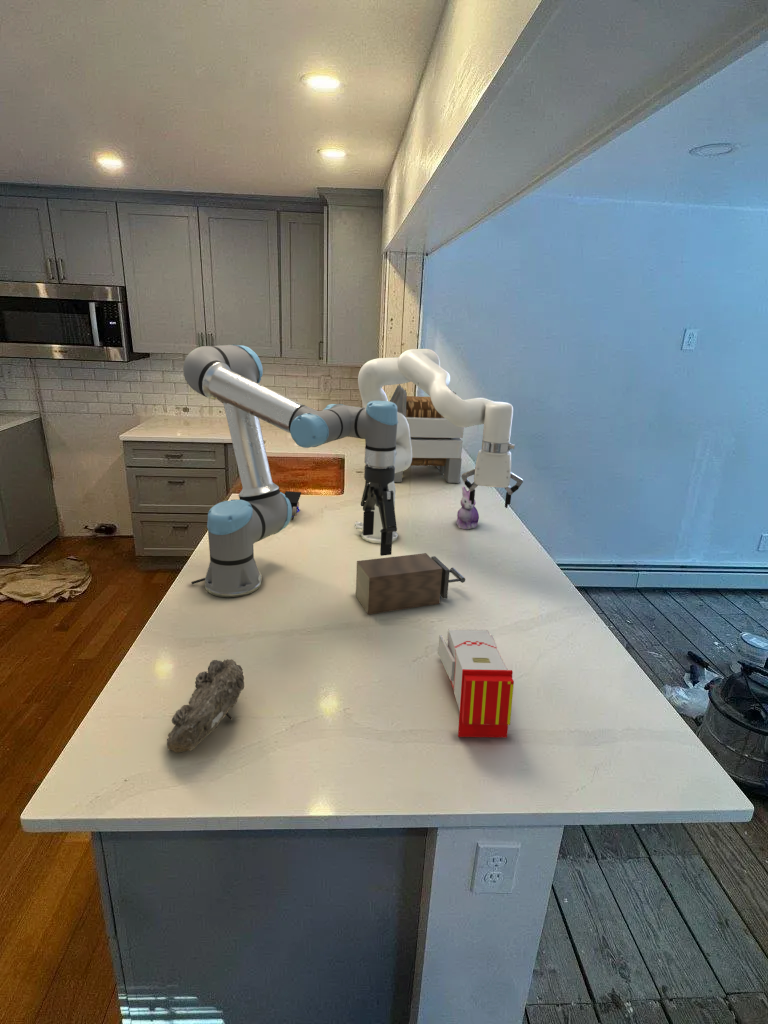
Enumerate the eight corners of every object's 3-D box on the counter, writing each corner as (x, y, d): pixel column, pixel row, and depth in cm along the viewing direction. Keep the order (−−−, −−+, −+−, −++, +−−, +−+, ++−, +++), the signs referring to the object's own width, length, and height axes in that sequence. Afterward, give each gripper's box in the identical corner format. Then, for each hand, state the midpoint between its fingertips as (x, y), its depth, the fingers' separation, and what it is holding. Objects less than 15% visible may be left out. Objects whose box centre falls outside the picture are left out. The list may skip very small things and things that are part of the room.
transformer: (382, 463, 289) (386, 382, 275) (445, 464, 293) (451, 384, 279) (390, 482, 257) (394, 392, 243) (460, 483, 261) (468, 394, 247)
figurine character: (297, 525, 206) (302, 507, 220) (296, 507, 203) (301, 489, 216) (278, 525, 206) (284, 507, 220) (278, 506, 203) (284, 489, 216)
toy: (488, 613, 130) (523, 677, 101) (484, 667, 133) (517, 744, 104) (435, 612, 130) (455, 676, 101) (432, 666, 133) (451, 743, 103)
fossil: (192, 660, 117) (244, 628, 112) (224, 691, 120) (276, 661, 115) (142, 746, 98) (202, 712, 93) (182, 779, 101) (242, 748, 96)
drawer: (451, 580, 165) (453, 553, 162) (466, 595, 157) (469, 567, 154) (369, 591, 156) (370, 563, 153) (381, 607, 148) (382, 578, 145)
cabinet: (423, 586, 163) (426, 553, 159) (439, 603, 154) (442, 568, 150) (355, 595, 156) (356, 560, 152) (367, 614, 147) (369, 577, 143)
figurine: (464, 531, 204) (468, 492, 199) (448, 522, 212) (452, 484, 207) (485, 528, 208) (490, 489, 203) (469, 519, 217) (473, 481, 212)
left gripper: (413, 478, 130) (408, 562, 137) (377, 452, 152) (374, 525, 159) (383, 480, 128) (379, 565, 135) (350, 453, 150) (348, 528, 157)
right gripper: (526, 446, 161) (519, 503, 166) (465, 441, 164) (460, 498, 169) (527, 452, 154) (520, 512, 159) (463, 447, 157) (458, 505, 162)
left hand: (376, 544), depth 147 cm, fingers open, 13 cm apart
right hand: (489, 504), depth 164 cm, fingers open, 9 cm apart
